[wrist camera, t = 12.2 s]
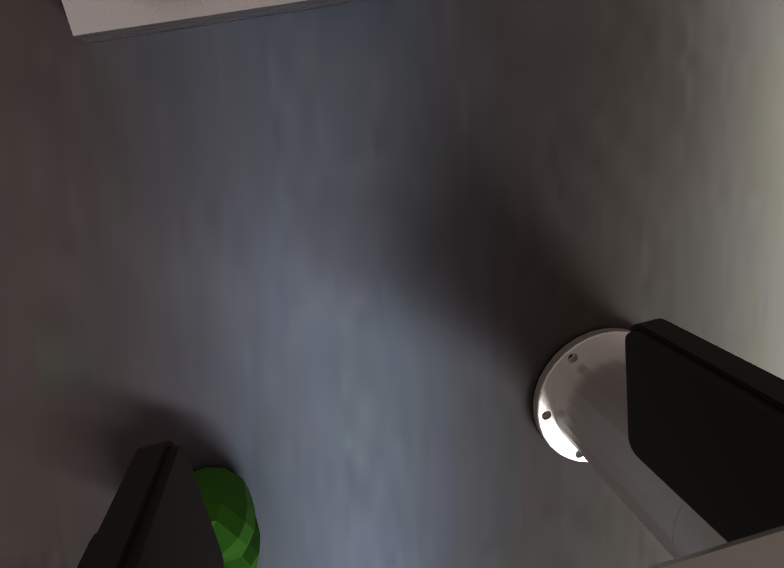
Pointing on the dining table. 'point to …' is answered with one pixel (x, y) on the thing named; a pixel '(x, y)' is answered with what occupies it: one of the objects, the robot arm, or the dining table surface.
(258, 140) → the dining table surface
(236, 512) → the bell pepper
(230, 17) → the rail
